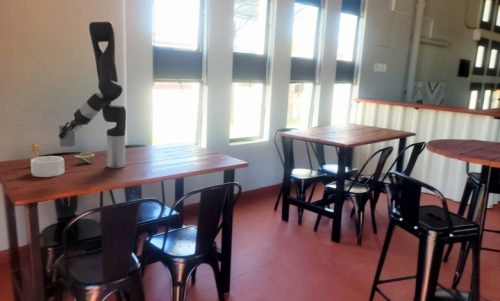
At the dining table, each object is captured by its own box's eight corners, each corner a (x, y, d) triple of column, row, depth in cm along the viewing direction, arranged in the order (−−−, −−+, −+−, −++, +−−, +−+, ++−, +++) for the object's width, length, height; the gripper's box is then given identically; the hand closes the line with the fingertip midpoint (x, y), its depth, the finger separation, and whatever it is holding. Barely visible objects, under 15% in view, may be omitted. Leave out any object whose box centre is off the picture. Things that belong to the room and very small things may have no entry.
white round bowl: (43, 168, 196) (42, 155, 194) (69, 170, 195) (68, 157, 193) (25, 175, 182) (24, 161, 181) (53, 177, 181) (52, 163, 180)
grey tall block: (65, 144, 183) (64, 124, 181) (75, 145, 183) (74, 124, 181) (60, 146, 178) (59, 125, 176) (69, 147, 178) (68, 125, 176)
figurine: (27, 168, 196) (26, 145, 193) (25, 165, 200) (24, 142, 198) (45, 166, 201) (44, 143, 198) (43, 163, 205) (41, 141, 203)
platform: (106, 164, 213) (106, 152, 212) (72, 168, 201) (72, 156, 199) (97, 160, 221) (97, 149, 220) (65, 163, 209) (64, 152, 208)
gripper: (89, 105, 183) (66, 128, 186) (72, 107, 169) (48, 132, 172) (100, 116, 184) (77, 139, 187) (84, 120, 170) (60, 145, 173)
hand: (63, 136), depth 180 cm, fingers closed on grey tall block, 4 cm apart
